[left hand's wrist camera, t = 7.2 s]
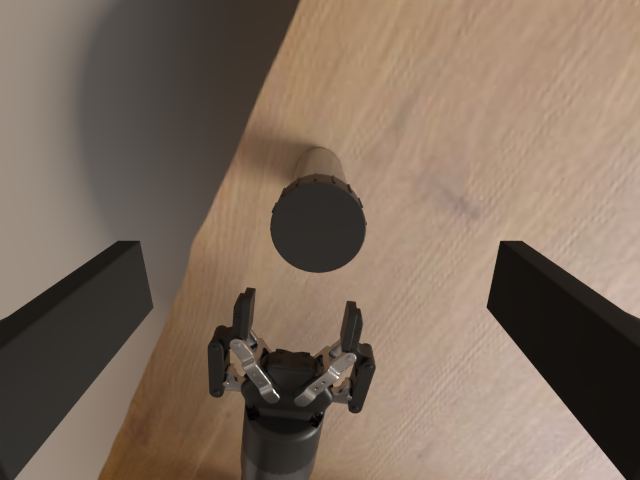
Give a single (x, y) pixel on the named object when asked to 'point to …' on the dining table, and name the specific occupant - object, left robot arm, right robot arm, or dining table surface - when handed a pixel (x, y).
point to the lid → (318, 223)
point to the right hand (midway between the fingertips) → (301, 299)
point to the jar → (319, 164)
